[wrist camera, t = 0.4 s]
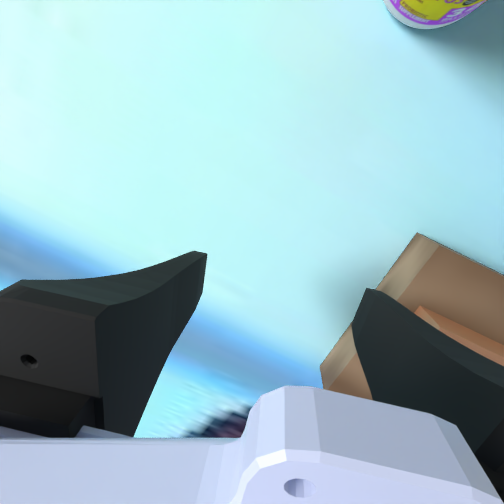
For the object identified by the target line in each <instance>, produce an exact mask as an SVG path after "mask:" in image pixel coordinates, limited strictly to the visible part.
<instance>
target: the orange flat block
mask: <svg viewBox="0 0 504 504" xmlns="http://www.w3.org/2000/svg"><path fill="white" fill-rule="evenodd" d="M414 314H416V315H417V316H419V317H420V318H421V319H423V320H424V321H426V322H427V323H429V324H430V325H432V326H433V327H435V328H436V329H438V330H439V331H441V332H442V333H444V334H446V335H447V336H449V337H450V338H452V339H454V340H455V341H457V342H459V343H461V344H462V345H464V346H466V347H468V348H469V349H471V350H473V351H475V352H477V353H478V354H480V355H482V356H484V357H486V358H488V359H490V360H492V361H494V362H496V363H498V364H500V365H502V366H504V345H502V344H500V343H498V342H496V341H494V340H491V339H489V338H487V337H485V336H483V335H481V334H479V333H477V332H475V331H473V330H471V329H468V328H466V327H464V326H462V325H460V324H458V323H456V322H454V321H452V320H450V319H448V318H445V317H443V316H441V315H439V314H437V313H435V312H433V311H431V310H429V309H427V308H424V307H422V306H419V307H418V308H417V310H416V311H415V312H414Z"/></svg>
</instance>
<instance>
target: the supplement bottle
mask: <svg viewBox="0 0 504 504" xmlns="http://www.w3.org/2000/svg"><path fill="white" fill-rule="evenodd" d="M383 1H384V4H385V5H386V7H387V9H388V10H389V12H390V13H391V14H392V15H393V16H394V17H395V18H396V19H397V20H399V21H400V22H402V23H403V24H405V25H408V26H410V27H413V28H418V29H435V28H440V27H444V26H447V25H449V24H452V23H454V22H456V21H458V20H460V19H462V18H463V17H465V16H467V15H468V14H469V13H471V12H472V11H474V10H475V9H476V8H478V7H479V6H481V5H482V4H483V3H484V2H486V1H487V0H383Z"/></svg>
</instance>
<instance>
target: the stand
mask: <svg viewBox="0 0 504 504" xmlns="http://www.w3.org/2000/svg"><path fill="white" fill-rule="evenodd" d="M376 290H378V291H381V292H383V293H385V294H387V295H389V296H390V297H392V298H393V299H395V300H396V301H397V302H399V303H400V304H402V305H403V306H405V307H406V308H407V309H409V310H410V311H412V312H413V313H414V312H415V311H416V310H417V308H418V307H419V306H422V307H424V308H427V309H429V310H431V311H433V312H435V313H437V314H439V315H441V316H443V317H445V318H448V319H450V320H452V321H454V322H456V323H458V324H460V325H462V326H464V327H466V328H468V329H471V330H473V331H475V332H477V333H479V334H481V335H483V336H485V337H487V338H489V339H491V340H494V341H496V342H498V343H500V344H502V345H504V275H503V274H501V273H499V272H497V271H495V270H493V269H491V268H489V267H487V266H485V265H483V264H481V263H478V262H476V261H474V260H472V259H470V258H468V257H466V256H464V255H462V254H460V253H458V252H456V251H454V250H452V249H450V248H448V247H446V246H444V245H442V244H440V243H438V242H436V241H434V240H432V239H429V238H427V237H425V236H423V235H421V234H419V233H416V235H415V236H414V237H413V239H412V240H411V241H410V243H409V244H408V246H407V247H406V248H405V250H404V251H403V252H402V254H401V255H400V257H399V258H398V259H397V261H396V262H395V263H394V265H393V266H392V268H391V269H390V270H389V272H388V273H387V275H386V276H385V277H384V279H383V280H382V281H381V283H380V284H379V286H378V287H377V288H376ZM352 322H353V321H352ZM351 324H352V323H351ZM351 324H350V325H349V327H348V328H347V330H346V331H345V332H344V334H343V335H342V336H341V338H340V339H339V341H338V342H337V343H336V345H335V346H334V348H333V349H332V350H331V352H330V353H329V354H328V356H327V357H326V359H325V360H324V361H323V363H322V364H321V365H320V371H321V377H322V383H323V389H325V390H329V391H333V392H338V393H342V394H347V395H351V396H355V397H360V398H364V399H369V400H373V399H372V395H371V392H370V389H369V386H368V383H367V380H366V377H365V375H364V372H363V369H362V366H361V363H360V360H359V357H358V354H357V351H356V348H355V344H354V339H353V334H352V327H351Z"/></svg>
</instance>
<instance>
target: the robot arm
mask: <svg viewBox="0 0 504 504" xmlns="http://www.w3.org/2000/svg"><path fill="white" fill-rule="evenodd" d="M206 260H207V254H206V253H202V252H197V251H192V252H189V253H186V254H183V255H181V256H178V257H176V258H173V259H171V260H168V261H165V262H163V263H160V264H157V265H154V266H151V267H148V268H144V269H140V270H137V271H132V272H128V273H123V274H117V275H110V276H104V277H96V278H86V279H70V280H20V281H18V282H16V283H14V284H13V285H11V286H9V287H7V288H5V289H3V290H1V291H0V504H504V366H502V365H500V364H498V363H496V362H494V361H492V360H490V359H488V358H486V357H484V356H482V355H480V354H478V353H477V352H475V351H473V350H471V349H469V348H468V347H466V346H464V345H462V344H461V343H459V342H457V341H455V340H454V339H452V338H450V337H449V336H447V335H446V334H444V333H442V332H441V331H439V330H438V329H436V328H435V327H433V326H432V325H430V324H429V323H427V322H426V321H424V320H423V319H421V318H420V317H419V316H417V315H416V314H414V313H413V312H412V311H410V310H409V309H407V308H406V307H405V306H403V305H402V304H400V303H399V302H397V301H396V300H395V299H393V298H392V297H390V296H389V295H387V294H385V293H383V292H381V291H378V290H374V289H369V288H366V290H365V293H364V295H363V298H362V300H361V303H360V305H359V307H358V310H357V312H356V315H355V317H354V320H353V322H352V324H351V327H352V334H353V339H354V344H355V348H356V351H357V354H358V357H359V360H360V363H361V366H362V369H363V372H364V375H365V377H366V380H367V383H368V386H369V389H370V392H371V395H372V399H373V400H369V399H364V398H360V397H355V396H351V395H347V394H342V393H338V392H333V391H329V390H325V389H320V388H316V387H311V386H284V387H281V388H279V389H276V390H273V391H271V392H268V393H266V394H263V395H261V396H260V398H259V399H258V401H257V402H256V403H255V405H254V406H253V407H252V409H251V410H250V412H249V416H248V420H247V423H246V427H245V430H244V432H243V434H242V436H241V438H134V437H133V436H134V434H135V431H136V429H137V426H138V424H139V422H140V419H141V417H142V414H143V412H144V410H145V407H146V405H147V402H148V400H149V398H150V396H151V393H152V391H153V389H154V386H155V384H156V382H157V380H158V377H159V375H160V373H161V371H162V368H163V366H164V364H165V362H166V360H167V358H168V356H169V354H170V352H171V350H172V348H173V346H174V345H175V343H176V341H177V340H178V338H179V336H180V335H181V333H182V331H183V330H184V328H185V326H186V325H187V323H188V321H189V320H190V318H191V316H192V314H193V313H194V311H195V309H196V307H197V304H198V302H199V300H200V297H201V295H202V292H203V284H204V276H205V268H206Z"/></svg>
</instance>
